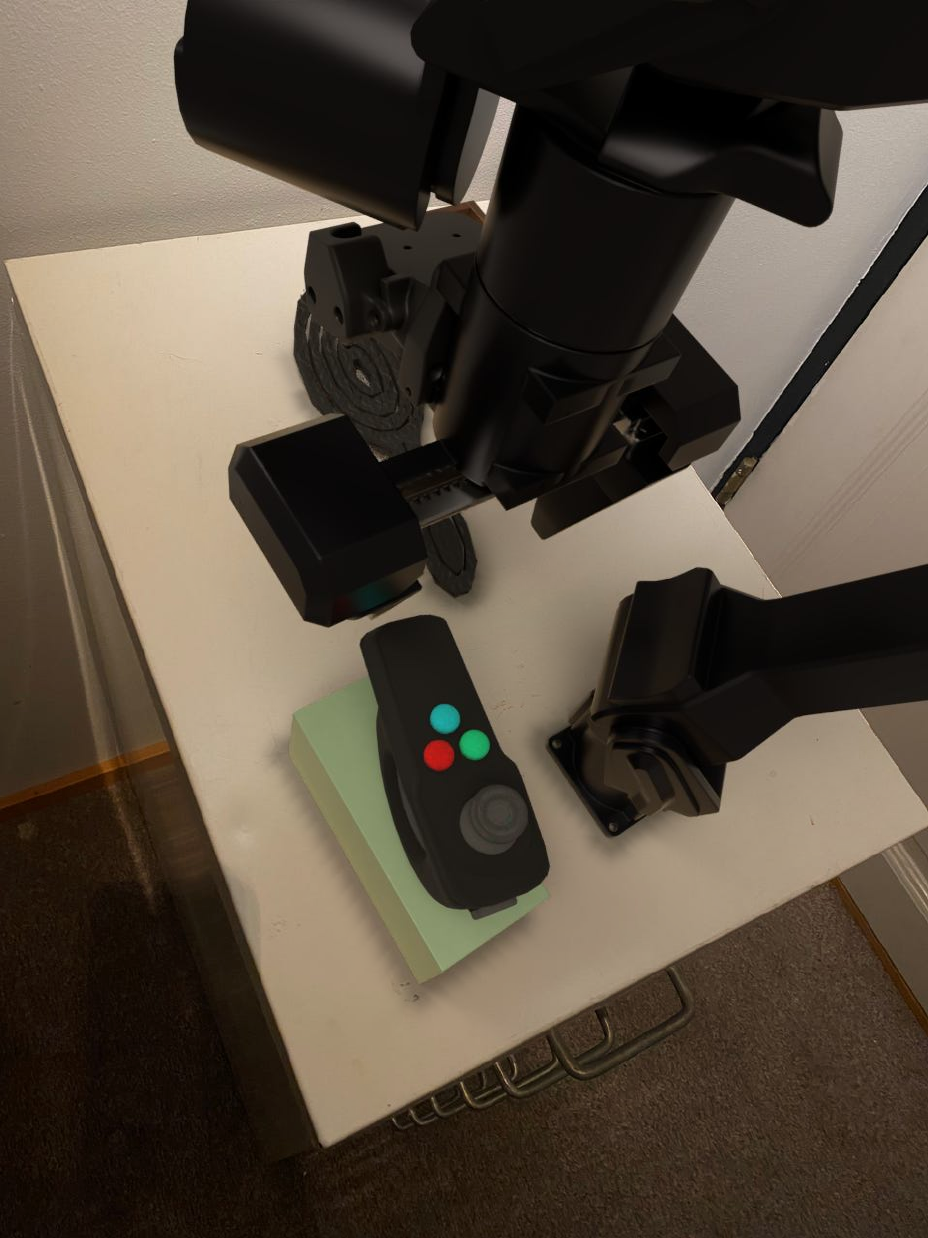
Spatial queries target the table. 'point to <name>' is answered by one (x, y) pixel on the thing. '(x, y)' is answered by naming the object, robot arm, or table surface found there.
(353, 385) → the hairbrush
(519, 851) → the controller
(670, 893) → the table surface
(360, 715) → the mint green rectangular brick
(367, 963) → the table surface
